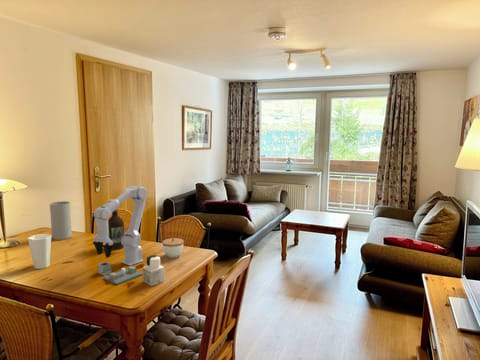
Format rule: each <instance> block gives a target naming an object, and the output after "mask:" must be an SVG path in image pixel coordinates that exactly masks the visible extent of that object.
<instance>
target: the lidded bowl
mask: <svg viewBox="0 0 480 360" xmlns="http://www.w3.org/2000/svg"><path fill="white" fill-rule="evenodd" d="M161 243H162V249H163V253H164V254H165V256H166V257H168V258H170V259H173V258H174V259H175V258H178V257H179V256H180V255H181V254H182V253H183V251H184V243H185V241H184V239H182V238H177V237H171V238H167V239H163V240H162V242H161Z"/></svg>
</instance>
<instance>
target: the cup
mask: <svg viewBox="0 0 480 360" xmlns="http://www.w3.org/2000/svg"><path fill="white" fill-rule="evenodd" d="M27 241H28V247H29V250H30V254H31V255H30V256H31V260H32V263H33V268H34V269H37V270H39V269H40V270H41V269H45V268H46V269H47V268H48V267H50V265H51V263H50V261H51V245H52V234H49V233H41V234H34V235H32V236H30V237H29V236H28V237H27Z"/></svg>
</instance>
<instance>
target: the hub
mask: <svg viewBox="0 0 480 360" xmlns="http://www.w3.org/2000/svg"><path fill="white" fill-rule="evenodd" d="M97 269H98V270H97V272H98V274H99V275H101V276H103V277H105V276H108V274H110V273H112V264H111V263H109V262H107V261H105V262H101V263H98V264H97Z"/></svg>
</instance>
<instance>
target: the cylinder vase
mask: <svg viewBox="0 0 480 360" xmlns="http://www.w3.org/2000/svg"><path fill="white" fill-rule="evenodd" d="M49 211H50V212H49V215H50V225H51V226H50V227H51V240H55V241H63V240H68V239H70V238H72V237H73V230H72V217H71V216H72V215H71V202H70V201H65V200H64V201H62V200H61V201H53V202H50V203H49Z"/></svg>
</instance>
